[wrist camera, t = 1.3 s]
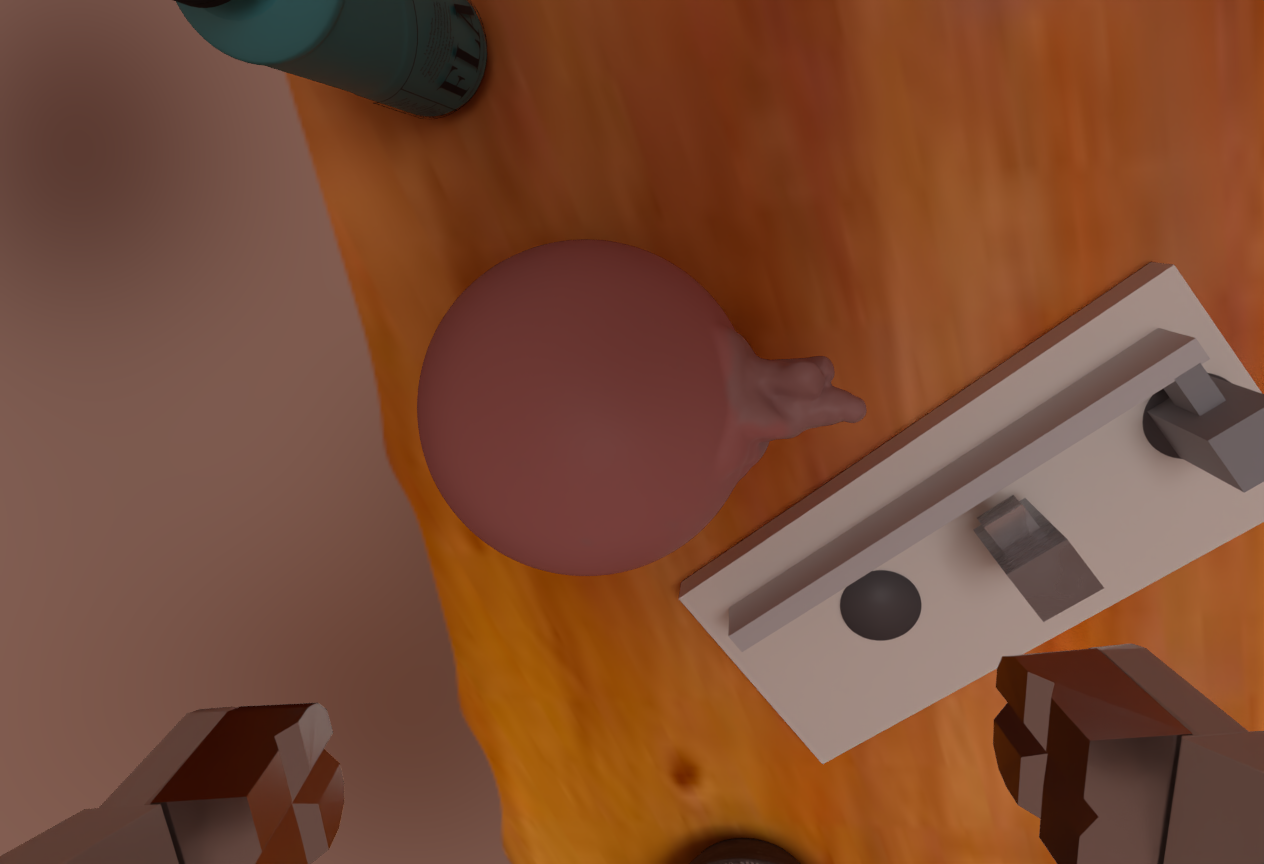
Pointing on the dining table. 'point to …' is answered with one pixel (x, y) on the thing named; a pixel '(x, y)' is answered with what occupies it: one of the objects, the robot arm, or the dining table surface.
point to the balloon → (602, 407)
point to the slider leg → (1036, 557)
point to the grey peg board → (976, 482)
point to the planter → (744, 853)
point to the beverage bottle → (357, 45)
